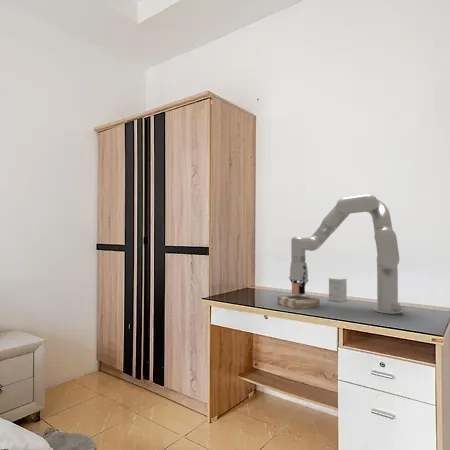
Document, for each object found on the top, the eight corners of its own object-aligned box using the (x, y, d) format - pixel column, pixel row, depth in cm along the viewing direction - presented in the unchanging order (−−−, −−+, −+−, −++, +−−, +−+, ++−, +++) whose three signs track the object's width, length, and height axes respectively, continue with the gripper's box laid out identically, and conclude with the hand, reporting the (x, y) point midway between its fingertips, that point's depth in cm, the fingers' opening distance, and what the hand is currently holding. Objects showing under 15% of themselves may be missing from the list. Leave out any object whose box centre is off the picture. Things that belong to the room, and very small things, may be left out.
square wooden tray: (319, 306, 195) (319, 298, 195) (296, 309, 187) (296, 300, 187) (299, 301, 209) (299, 293, 209) (277, 303, 201) (277, 296, 201)
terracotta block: (305, 294, 197) (304, 283, 197) (297, 295, 195) (297, 284, 195) (298, 293, 202) (298, 282, 202) (291, 293, 199) (291, 282, 199)
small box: (346, 301, 210) (346, 278, 211) (340, 302, 206) (340, 279, 206) (334, 299, 217) (334, 277, 217) (328, 300, 212) (328, 278, 213)
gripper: (314, 260, 193) (314, 294, 193) (293, 258, 208) (293, 290, 207) (303, 260, 189) (303, 295, 189) (283, 258, 204) (283, 291, 204)
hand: (298, 292), depth 198 cm, fingers closed on terracotta block, 4 cm apart
